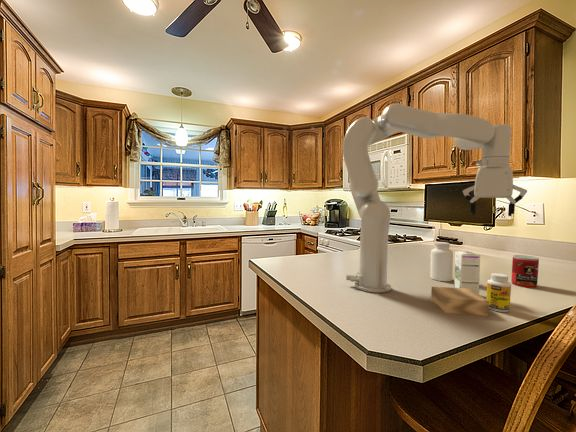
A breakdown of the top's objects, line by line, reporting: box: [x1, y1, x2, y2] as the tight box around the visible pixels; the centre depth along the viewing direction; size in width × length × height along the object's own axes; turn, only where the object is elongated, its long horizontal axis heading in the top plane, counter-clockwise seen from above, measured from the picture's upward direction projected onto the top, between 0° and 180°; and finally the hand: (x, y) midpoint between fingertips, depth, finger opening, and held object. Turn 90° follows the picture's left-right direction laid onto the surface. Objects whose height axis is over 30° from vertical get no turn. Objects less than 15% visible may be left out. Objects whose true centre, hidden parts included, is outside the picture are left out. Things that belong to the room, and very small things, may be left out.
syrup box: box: [453, 250, 481, 295], centre depth 94 cm, size 6×6×14 cm
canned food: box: [511, 254, 540, 289], centre depth 107 cm, size 8×8×11 cm
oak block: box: [430, 286, 490, 317], centre depth 83 cm, size 11×11×4 cm
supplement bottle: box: [485, 272, 512, 313], centre depth 82 cm, size 6×6×10 cm
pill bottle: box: [429, 241, 454, 282], centre depth 114 cm, size 8×8×15 cm
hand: (491, 215), depth 93 cm, fingers open, 9 cm apart
